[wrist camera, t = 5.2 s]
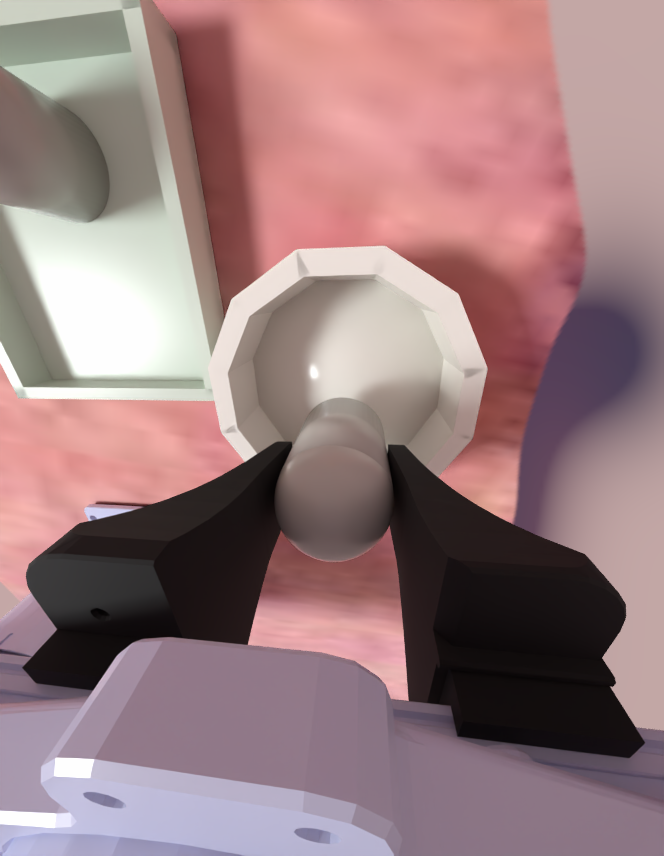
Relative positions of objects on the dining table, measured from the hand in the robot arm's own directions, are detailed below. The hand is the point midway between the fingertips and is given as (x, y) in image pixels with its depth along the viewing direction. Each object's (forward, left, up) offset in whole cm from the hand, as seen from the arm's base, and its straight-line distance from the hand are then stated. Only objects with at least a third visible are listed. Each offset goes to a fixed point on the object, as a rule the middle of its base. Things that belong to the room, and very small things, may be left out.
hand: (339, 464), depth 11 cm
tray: (+8, +12, -5) cm, 15 cm away
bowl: (+2, 0, -5) cm, 5 cm away
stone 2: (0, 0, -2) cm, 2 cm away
